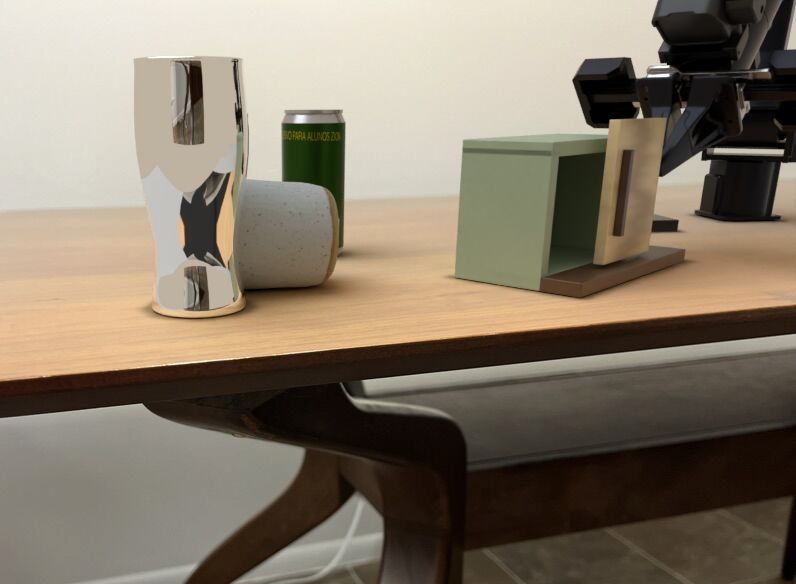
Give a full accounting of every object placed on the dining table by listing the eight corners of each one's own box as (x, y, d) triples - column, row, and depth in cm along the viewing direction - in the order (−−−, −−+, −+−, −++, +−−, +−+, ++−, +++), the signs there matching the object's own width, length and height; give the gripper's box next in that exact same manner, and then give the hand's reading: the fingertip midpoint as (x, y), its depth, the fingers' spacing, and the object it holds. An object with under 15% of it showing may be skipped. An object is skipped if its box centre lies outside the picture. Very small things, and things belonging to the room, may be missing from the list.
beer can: (356, 254, 71) (359, 109, 67) (309, 261, 68) (310, 110, 64) (315, 246, 75) (316, 109, 71) (270, 253, 72) (268, 110, 68)
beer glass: (230, 323, 49) (222, 54, 44) (125, 316, 51) (107, 57, 46) (266, 298, 55) (262, 60, 50) (171, 292, 57) (159, 62, 52)
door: (638, 250, 64) (656, 117, 61) (656, 252, 64) (675, 117, 60) (592, 263, 59) (609, 119, 56) (611, 266, 58) (629, 119, 55)
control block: (642, 222, 89) (646, 194, 88) (677, 231, 82) (681, 201, 81) (553, 224, 88) (556, 195, 87) (581, 233, 81) (585, 203, 80)
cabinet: (569, 247, 74) (582, 132, 70) (684, 261, 67) (703, 134, 64) (454, 277, 61) (462, 139, 58) (580, 298, 55) (597, 142, 51)
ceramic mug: (343, 294, 56) (345, 179, 53) (225, 300, 54) (221, 181, 52) (308, 268, 66) (308, 170, 63) (207, 273, 64) (203, 172, 62)
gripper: (595, -46, 67) (515, 95, 63) (864, -82, 54) (784, 91, 51) (624, 60, 75) (553, 192, 71) (864, 50, 62) (795, 209, 58)
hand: (655, 172), depth 62 cm, fingers closed, pressing on door
